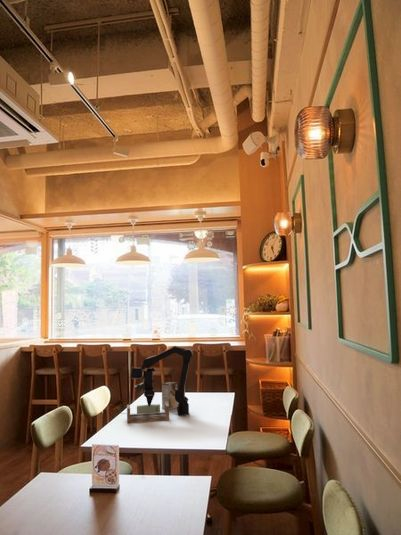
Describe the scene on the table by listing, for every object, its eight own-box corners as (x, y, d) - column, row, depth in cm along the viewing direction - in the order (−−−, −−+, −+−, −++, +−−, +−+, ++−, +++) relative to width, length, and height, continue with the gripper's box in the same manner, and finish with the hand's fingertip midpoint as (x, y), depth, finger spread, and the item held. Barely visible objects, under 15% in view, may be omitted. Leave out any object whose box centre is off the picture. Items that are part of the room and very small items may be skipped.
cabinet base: (167, 416, 254) (167, 402, 255) (169, 420, 244) (169, 406, 245) (127, 418, 250) (127, 404, 251) (127, 423, 240) (127, 408, 241)
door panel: (159, 413, 261) (159, 403, 262) (160, 415, 258) (160, 405, 259) (136, 415, 259) (136, 405, 259) (136, 416, 256) (136, 406, 256)
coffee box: (171, 406, 282) (170, 381, 284) (178, 407, 278) (178, 382, 280) (161, 408, 275) (161, 383, 276) (169, 409, 271) (168, 384, 273)
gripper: (134, 377, 269) (135, 402, 267) (135, 381, 250) (135, 408, 249) (152, 376, 271) (152, 401, 269) (154, 380, 252) (154, 407, 251)
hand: (148, 404), depth 259 cm, fingers open, 9 cm apart
